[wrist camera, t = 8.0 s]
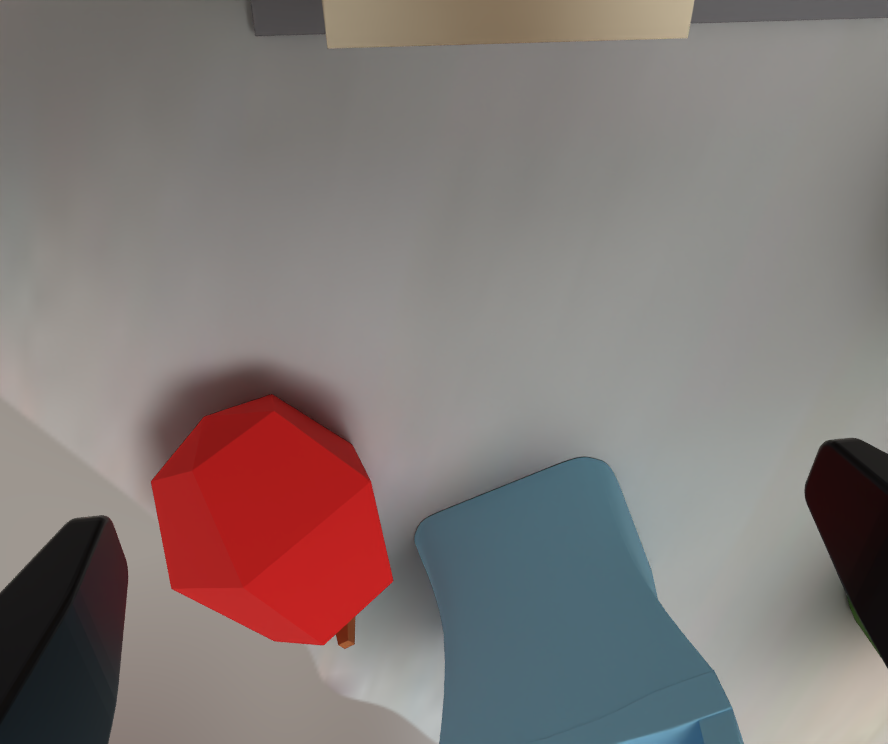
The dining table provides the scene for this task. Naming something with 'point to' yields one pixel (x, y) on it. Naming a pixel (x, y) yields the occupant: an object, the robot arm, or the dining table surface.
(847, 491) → the robot arm
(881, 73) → the dining table surface
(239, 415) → the apple
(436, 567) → the vase
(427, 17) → the birch cube
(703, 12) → the mat
